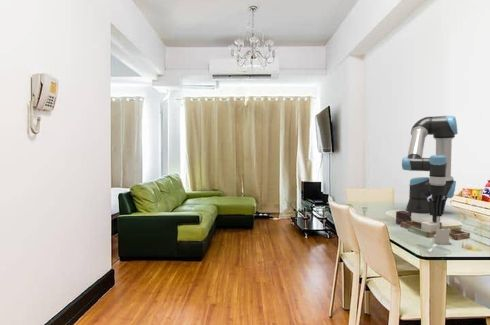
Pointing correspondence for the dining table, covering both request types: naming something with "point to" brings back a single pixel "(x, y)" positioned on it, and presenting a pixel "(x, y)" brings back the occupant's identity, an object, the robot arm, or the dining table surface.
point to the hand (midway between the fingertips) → (435, 227)
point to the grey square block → (442, 236)
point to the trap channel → (416, 228)
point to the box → (402, 216)
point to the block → (429, 226)
